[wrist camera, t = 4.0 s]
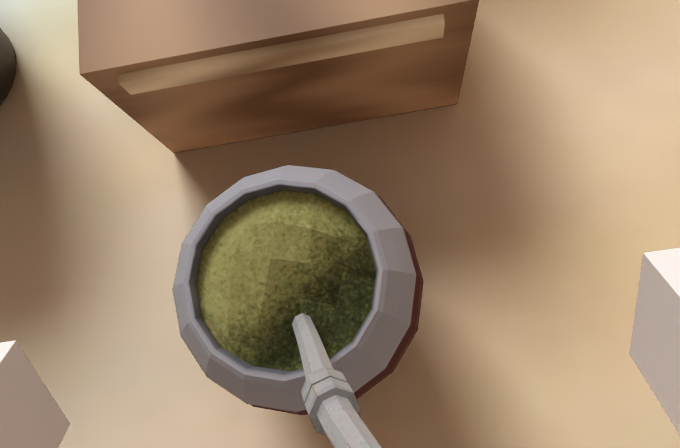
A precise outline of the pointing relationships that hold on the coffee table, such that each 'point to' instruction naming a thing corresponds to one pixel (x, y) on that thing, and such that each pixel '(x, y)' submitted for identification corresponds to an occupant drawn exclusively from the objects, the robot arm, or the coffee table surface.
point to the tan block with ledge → (271, 62)
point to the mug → (6, 65)
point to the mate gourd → (299, 295)
